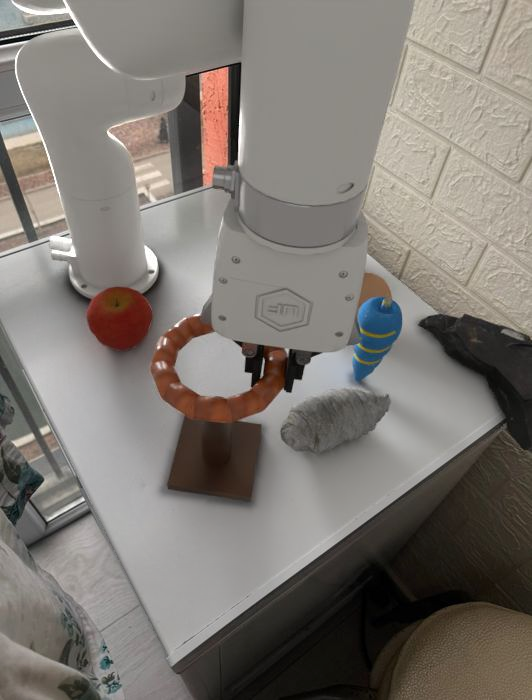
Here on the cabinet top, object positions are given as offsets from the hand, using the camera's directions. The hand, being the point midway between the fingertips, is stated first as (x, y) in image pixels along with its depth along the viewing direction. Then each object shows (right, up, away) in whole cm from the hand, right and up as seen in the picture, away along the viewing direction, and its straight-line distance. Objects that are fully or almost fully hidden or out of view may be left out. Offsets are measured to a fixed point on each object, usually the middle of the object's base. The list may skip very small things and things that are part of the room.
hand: (272, 376), depth 44 cm
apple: (-19, +4, +23) cm, 30 cm away
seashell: (+7, -7, +16) cm, 19 cm away
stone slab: (+30, -1, +25) cm, 39 cm away
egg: (+12, +6, +28) cm, 31 cm away
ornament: (+11, -2, +22) cm, 24 cm away
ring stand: (-6, -10, +13) cm, 17 cm away
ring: (-5, +1, -1) cm, 5 cm away
